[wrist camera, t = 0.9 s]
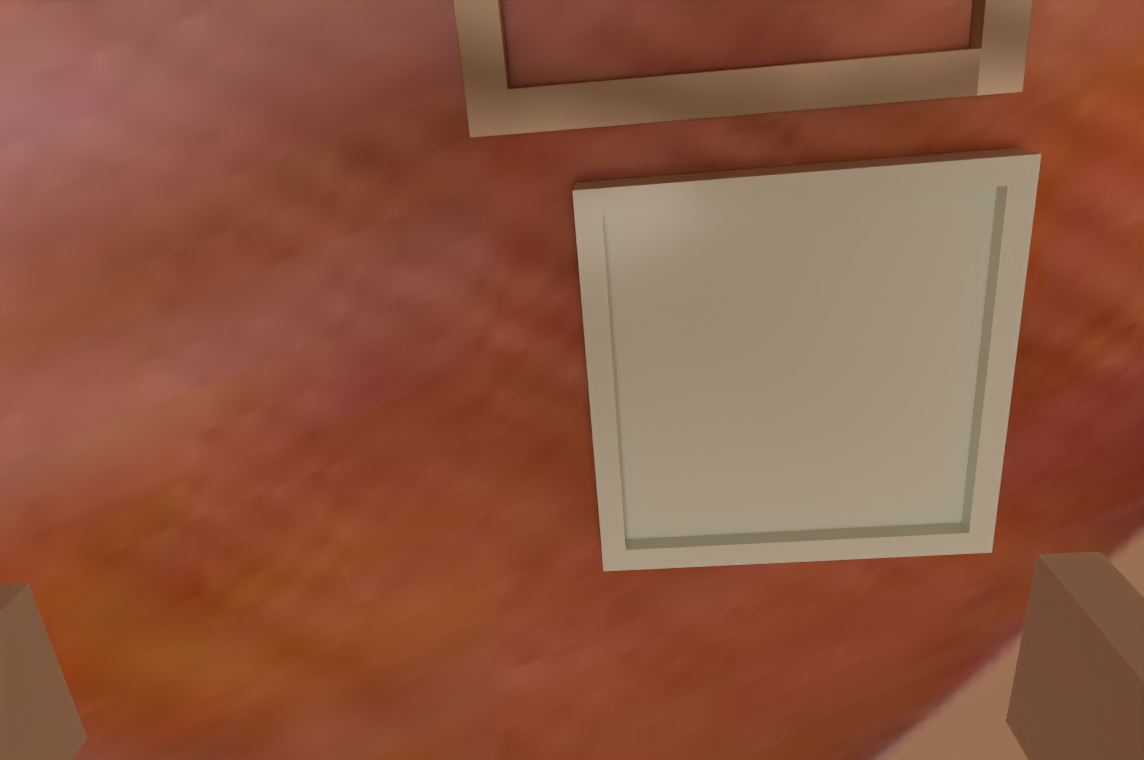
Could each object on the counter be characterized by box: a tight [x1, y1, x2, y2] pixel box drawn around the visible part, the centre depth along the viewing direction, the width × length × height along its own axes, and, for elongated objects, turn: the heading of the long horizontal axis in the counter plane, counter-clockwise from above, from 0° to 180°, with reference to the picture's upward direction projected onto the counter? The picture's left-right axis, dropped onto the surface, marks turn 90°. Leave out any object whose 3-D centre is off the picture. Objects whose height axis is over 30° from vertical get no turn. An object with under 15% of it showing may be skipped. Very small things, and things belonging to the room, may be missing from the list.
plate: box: [572, 148, 1041, 571], centre depth 33 cm, size 16×16×2 cm
